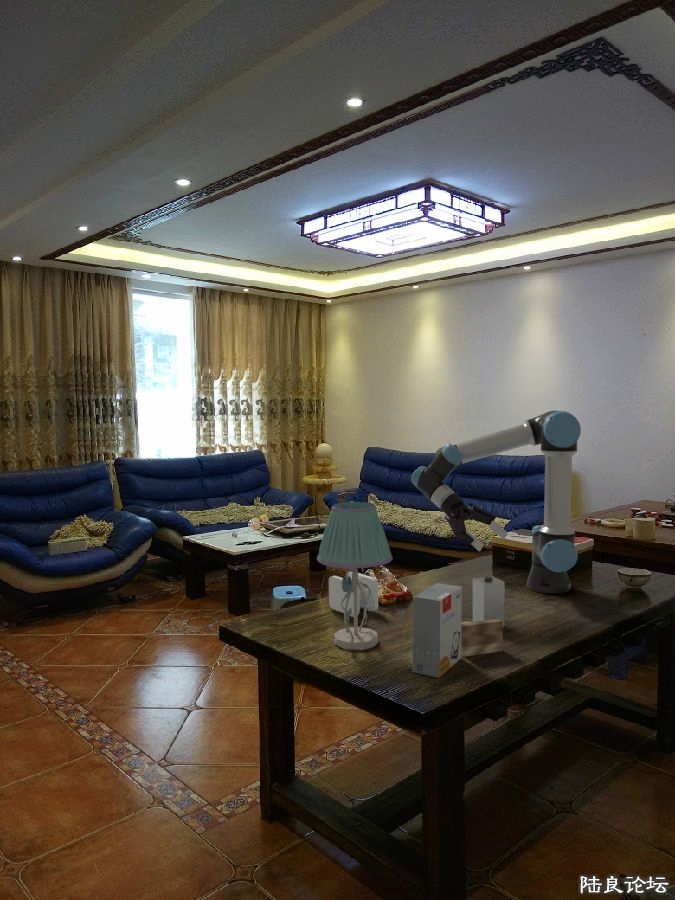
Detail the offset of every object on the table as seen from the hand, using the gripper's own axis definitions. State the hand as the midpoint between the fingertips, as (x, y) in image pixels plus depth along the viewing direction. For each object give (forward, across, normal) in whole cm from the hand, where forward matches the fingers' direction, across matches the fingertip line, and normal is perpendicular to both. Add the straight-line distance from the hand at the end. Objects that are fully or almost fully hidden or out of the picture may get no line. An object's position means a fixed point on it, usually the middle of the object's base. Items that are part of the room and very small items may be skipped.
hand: (493, 542), depth 213 cm
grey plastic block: (-17, +34, -35) cm, 52 cm away
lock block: (+17, +14, -14) cm, 26 cm away
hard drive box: (+22, +49, -6) cm, 54 cm away
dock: (+19, +31, -10) cm, 38 cm away
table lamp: (-1, +53, -21) cm, 57 cm away
